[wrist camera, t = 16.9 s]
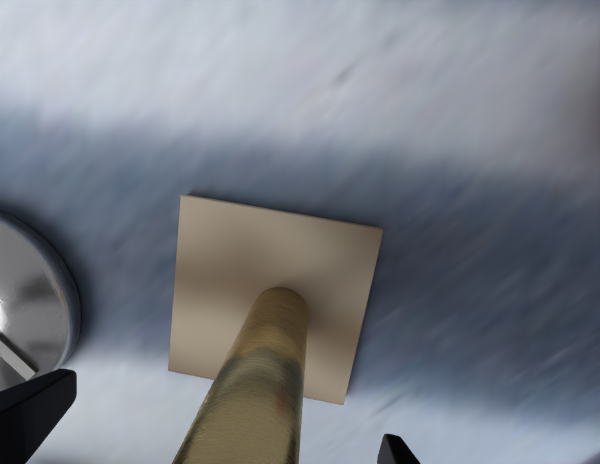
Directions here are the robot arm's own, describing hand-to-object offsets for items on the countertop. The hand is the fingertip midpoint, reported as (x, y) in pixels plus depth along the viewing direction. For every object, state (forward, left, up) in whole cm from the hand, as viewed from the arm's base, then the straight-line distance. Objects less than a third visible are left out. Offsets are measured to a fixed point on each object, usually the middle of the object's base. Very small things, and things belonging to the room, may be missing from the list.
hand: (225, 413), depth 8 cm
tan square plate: (0, 0, -7) cm, 7 cm away
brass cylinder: (0, -1, -7) cm, 7 cm away
